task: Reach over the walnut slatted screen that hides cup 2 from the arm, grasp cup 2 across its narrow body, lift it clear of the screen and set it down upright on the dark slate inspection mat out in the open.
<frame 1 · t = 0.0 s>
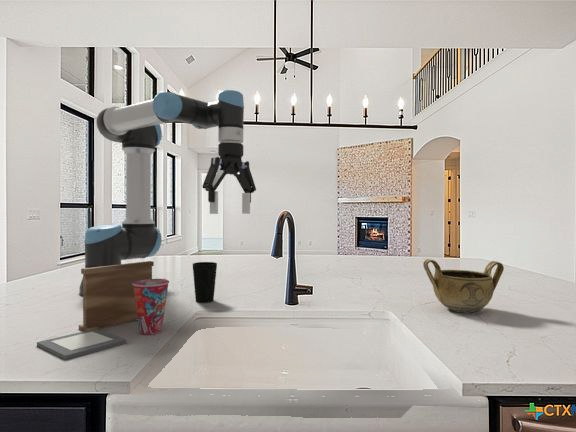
hand: (230, 213, 126), 28 cm above the worktop, fingers open, 13 cm apart
cup: (204, 301, 133), on the worktop
inspection mat: (82, 344, 90), on the worktop
screen: (119, 323, 106), on the worktop
cup 2: (150, 331, 100), on the worktop
ceramic bowl: (461, 310, 123), on the worktop
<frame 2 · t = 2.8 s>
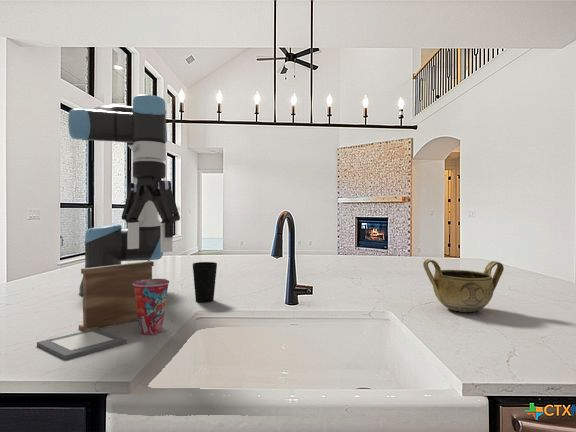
hand: (149, 250, 99), 19 cm above the worktop, fingers open, 13 cm apart
nothing on the worktop moved.
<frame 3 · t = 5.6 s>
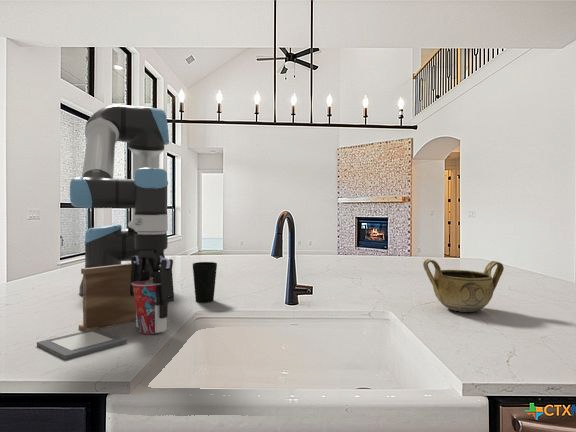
hand: (151, 328, 100), 1 cm above the worktop, fingers closed on cup 2, 7 cm apart
cup 2: (150, 331, 100), on the worktop, touching gripper
everything else where it was.
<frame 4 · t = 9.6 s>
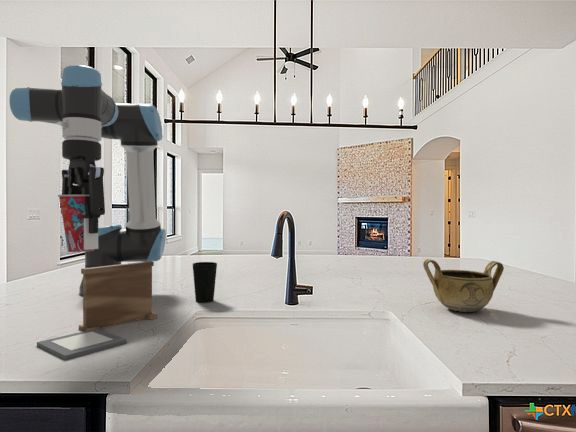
hand: (82, 247, 89), 21 cm above the worktop, fingers closed on cup 2, 7 cm apart
cup 2: (81, 251, 89), point 20 cm above the worktop, touching gripper
everything else where it was.
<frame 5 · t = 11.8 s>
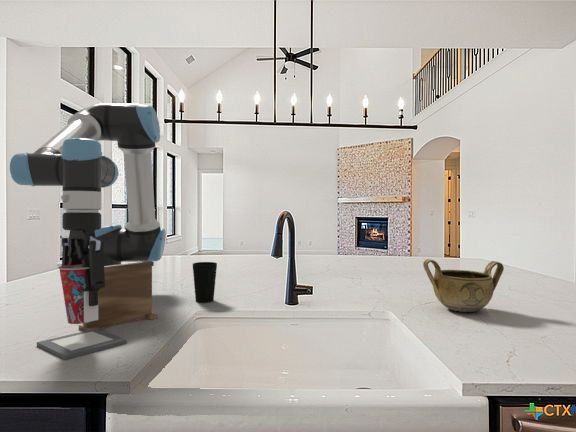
hand: (82, 317, 90), 6 cm above the worktop, fingers closed on cup 2, 7 cm apart
cup 2: (81, 321, 90), point 5 cm above the worktop, touching gripper
everything else where it was.
when the fingers open (2 cm above the worktop, at t = 13.6 s): cup 2 stays where it is, resting on inspection mat.
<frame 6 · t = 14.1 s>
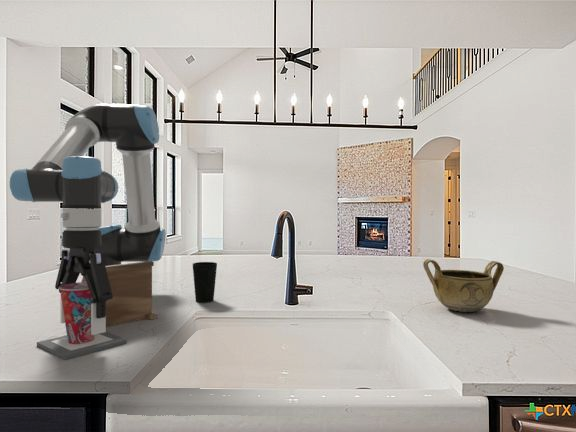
hand: (82, 327, 90), 4 cm above the worktop, fingers open, 13 cm apart
cup 2: (81, 340, 90), point 1 cm above the worktop, touching inspection mat
everything else where it was.
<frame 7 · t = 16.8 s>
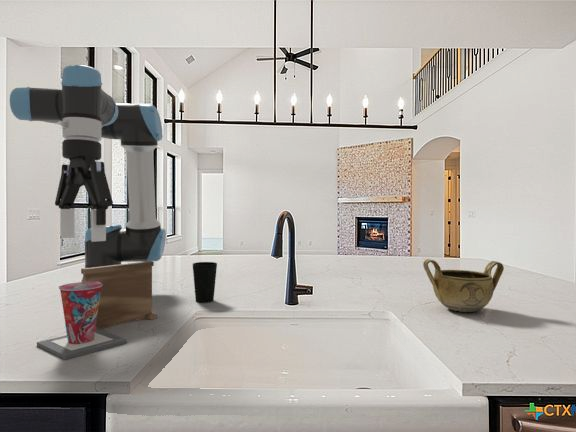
hand: (82, 239, 89), 23 cm above the worktop, fingers open, 13 cm apart
nothing on the worktop moved.
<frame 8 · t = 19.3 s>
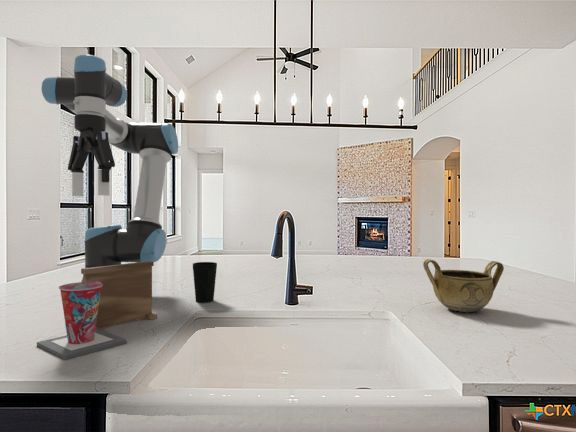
hand: (90, 195, 111), 33 cm above the worktop, fingers open, 13 cm apart
nothing on the worktop moved.
at the end: cup 2 inside the target area on the inspection mat (0.4 cm from its centre), point 0.7 cm above the inspection mat's base; cup 2 tilted 0°; the gripper is holding nothing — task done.
